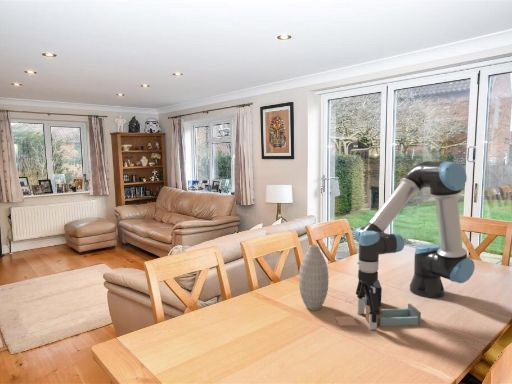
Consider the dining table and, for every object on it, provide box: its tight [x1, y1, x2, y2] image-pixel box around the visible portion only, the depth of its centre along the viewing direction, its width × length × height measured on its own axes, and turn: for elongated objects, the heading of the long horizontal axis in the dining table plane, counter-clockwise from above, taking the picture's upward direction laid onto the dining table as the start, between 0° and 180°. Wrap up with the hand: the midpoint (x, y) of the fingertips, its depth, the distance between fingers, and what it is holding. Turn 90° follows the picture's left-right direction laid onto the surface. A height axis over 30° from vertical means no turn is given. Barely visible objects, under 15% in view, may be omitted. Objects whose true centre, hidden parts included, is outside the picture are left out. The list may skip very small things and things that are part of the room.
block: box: [365, 305, 384, 326], centre depth 142 cm, size 5×5×6 cm
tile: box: [334, 316, 359, 328], centre depth 143 cm, size 7×7×1 cm
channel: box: [379, 303, 422, 327], centre depth 144 cm, size 16×8×5 cm, turn 93°
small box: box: [364, 279, 383, 309], centre depth 158 cm, size 11×6×10 cm, turn 168°
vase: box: [298, 243, 329, 311], centre depth 155 cm, size 13×13×28 cm
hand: (366, 321), depth 143 cm, fingers open, 13 cm apart
